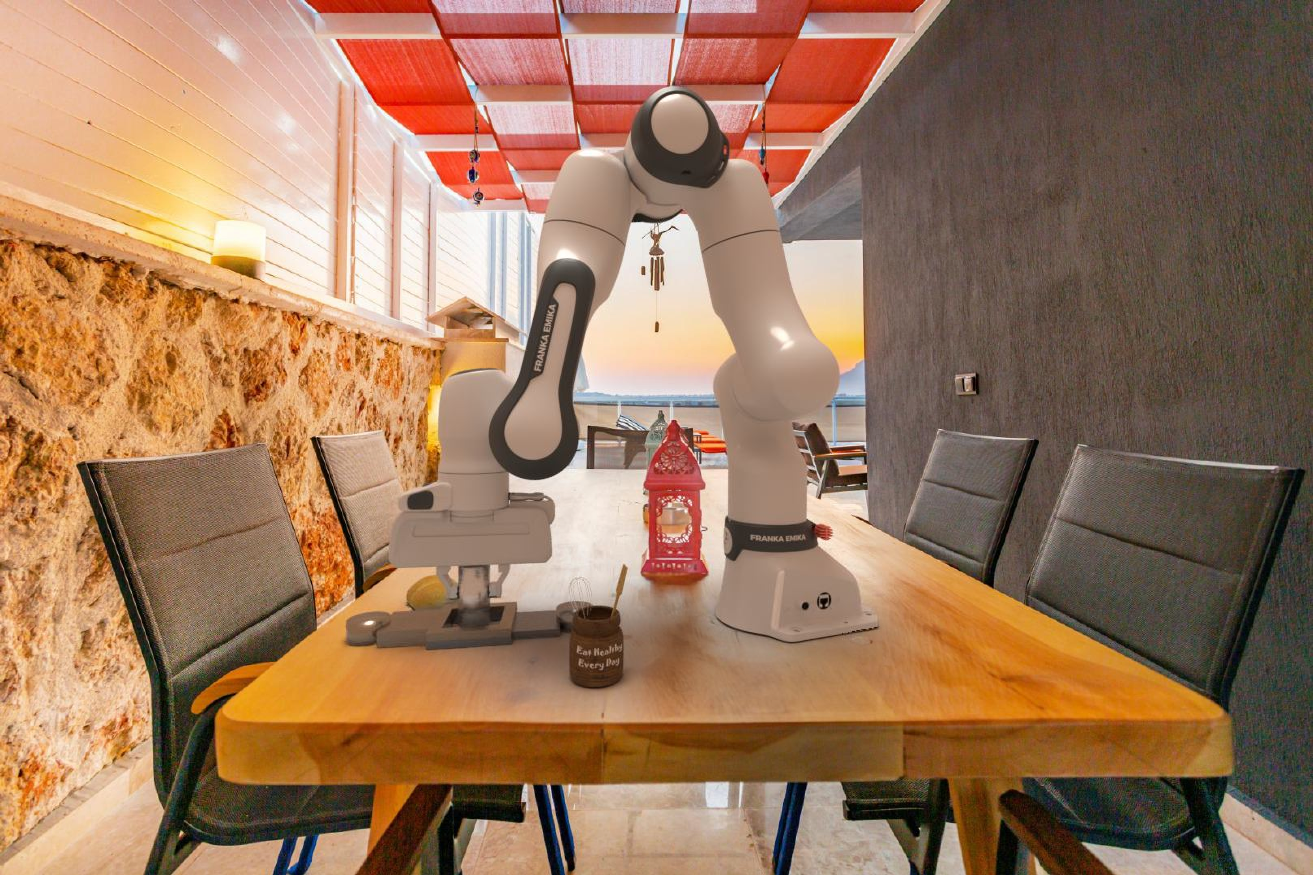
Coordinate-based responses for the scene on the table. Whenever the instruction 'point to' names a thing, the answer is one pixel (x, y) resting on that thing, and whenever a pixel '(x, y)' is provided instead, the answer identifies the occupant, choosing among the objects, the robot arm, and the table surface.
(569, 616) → the lower chain link
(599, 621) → the utensil holder
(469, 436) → the robot arm
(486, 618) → the steel pin
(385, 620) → the upper chain link
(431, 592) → the bread roll
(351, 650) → the table surface
